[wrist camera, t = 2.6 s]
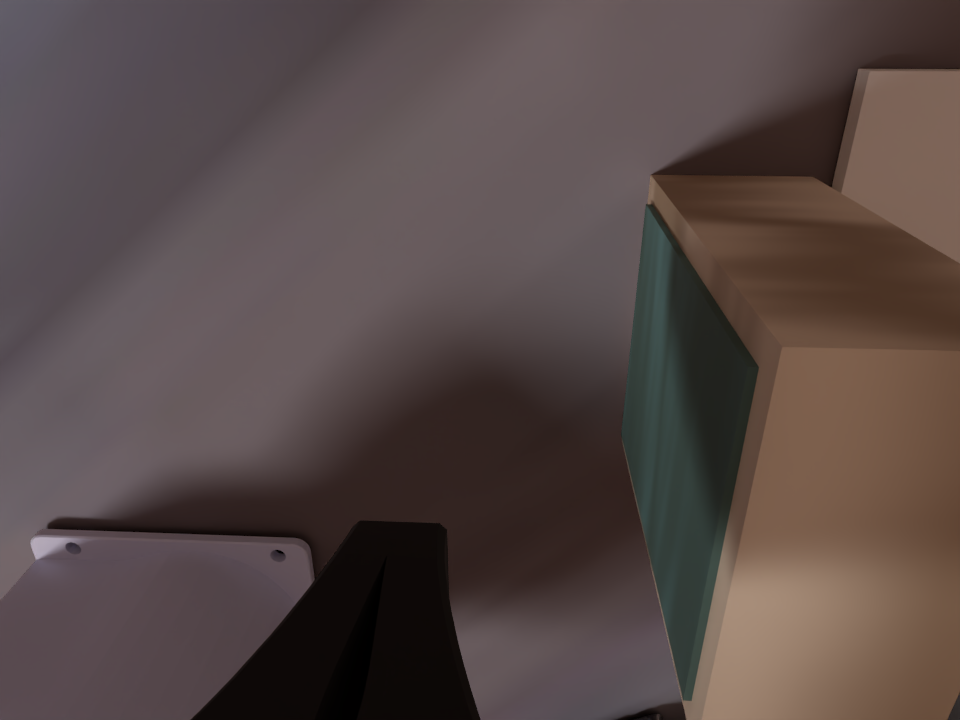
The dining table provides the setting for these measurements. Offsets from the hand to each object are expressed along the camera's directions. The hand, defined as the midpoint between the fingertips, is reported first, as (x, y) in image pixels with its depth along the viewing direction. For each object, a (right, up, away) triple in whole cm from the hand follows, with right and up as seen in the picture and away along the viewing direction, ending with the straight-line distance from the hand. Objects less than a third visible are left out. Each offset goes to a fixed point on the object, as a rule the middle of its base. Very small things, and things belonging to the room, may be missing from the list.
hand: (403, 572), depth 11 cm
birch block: (+8, +4, +9) cm, 12 cm away
